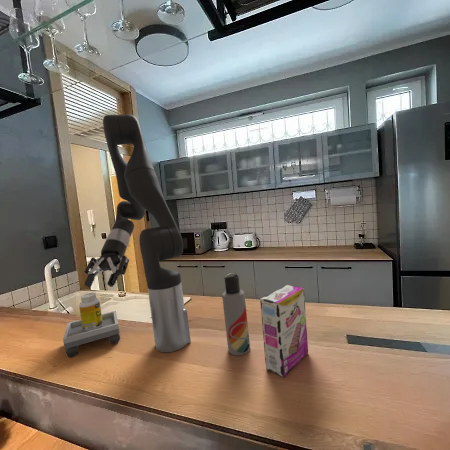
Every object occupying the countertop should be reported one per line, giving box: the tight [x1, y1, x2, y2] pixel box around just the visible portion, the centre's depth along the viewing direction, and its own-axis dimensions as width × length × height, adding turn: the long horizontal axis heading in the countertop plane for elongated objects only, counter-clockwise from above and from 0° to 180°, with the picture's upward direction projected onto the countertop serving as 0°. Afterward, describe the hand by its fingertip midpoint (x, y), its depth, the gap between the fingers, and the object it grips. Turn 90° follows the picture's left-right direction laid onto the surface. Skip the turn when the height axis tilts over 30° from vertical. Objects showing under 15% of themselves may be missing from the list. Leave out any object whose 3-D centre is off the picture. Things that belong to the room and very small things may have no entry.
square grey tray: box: [62, 310, 121, 358], centre depth 79 cm, size 14×12×6 cm
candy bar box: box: [259, 284, 309, 378], centre depth 59 cm, size 11×5×16 cm, turn 135°
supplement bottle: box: [78, 292, 103, 331], centre depth 79 cm, size 6×6×10 cm
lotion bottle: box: [221, 272, 251, 356], centre depth 66 cm, size 6×6×20 cm
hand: (98, 286), depth 83 cm, fingers open, 8 cm apart
